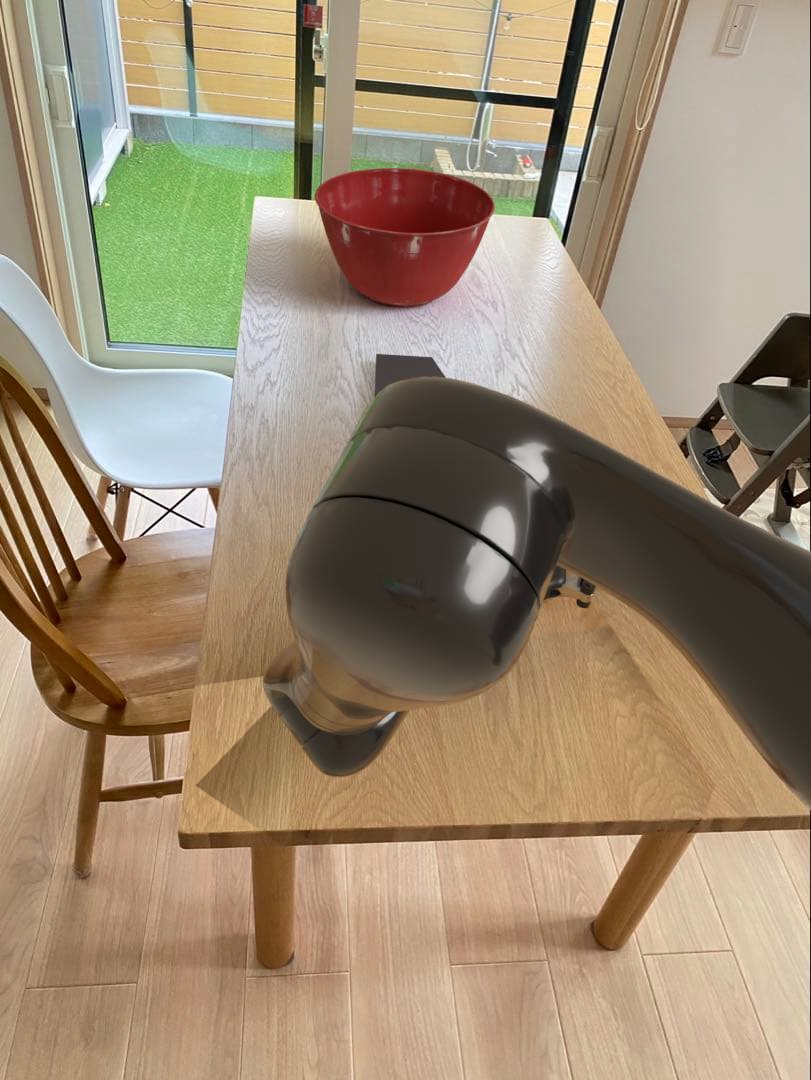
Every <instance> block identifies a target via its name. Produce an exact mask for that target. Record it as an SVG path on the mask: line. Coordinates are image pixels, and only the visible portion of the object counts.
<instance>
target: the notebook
mask: <svg viewBox="0 0 811 1080" xmlns="http://www.w3.org/2000/svg"><path fill="white" fill-rule="evenodd" d="M425 376H436V377H444V378H447V377H446V376H445V374H444V373H443V371H442V370H441V368H440V367H439V365H438V364H437V362H436V361H435V360H434V358H433V357H432V356H422V355H421V356H420V355H419V356H418V355H406V354H405V355H404V354H402V355H401V354H387V353H376V354H375V375H374V397H373V399H374V398H375V397H376V395H377V394H378V393H379V392H380V391H382V390H383V389H384V388H385V387H387V386H388V385H390V384H393V383H395V382H398V381H400V380H403V379H406V378H412V377H425Z"/></svg>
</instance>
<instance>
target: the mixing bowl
mask: <svg viewBox="0 0 811 1080" xmlns="http://www.w3.org/2000/svg"><path fill="white" fill-rule="evenodd" d="M314 200H315V203H316V204H317V206H318V210H319V214H320V218H321V221H322V225H323V228H324V232H325V235H326V238H327V241H328V245H329V247H330V248H331V249H330V250H331V252H332V254H333V256H334V258H335V260H336V263H337V265H338V267H339V269H340V271H341V272H342V274H343V276H344V277H345V279H346V280H347V281H348V283H349V284H350V285H351V286H352V287H353V289H355V290H356V291H358V292H359V293H360V294H362V295H363V296H365V297H367V298H368V297H369V298H368V299H370V298H371V299H373V300H375V301H377V302H376V303H378V302H379V303H378V304H381V303H382V304H381V305H385V306H389V307H397V308H398V307H399V308H412V307H420V306H424V305H426V304H429V303H432V302H433V301H435V300H438V299H440V298H441V297H443V296H445V295H446V294H447V293H449V292H450V291H451V290H452V289H453V288H454V287H455V286H456V285H457V283H458V282H459V281H460V279H461V278H462V277H463V275H464V273H465V272H466V271H467V269H468V267H469V265H470V264H471V262H472V261H473V258H474V257H475V254H476V252H477V251H478V249H479V246H480V245H481V242H482V240H483V238H484V235H485V232H486V230H487V228H488V224H489V223H490V220H491V218H492V216H493V215H494V214H495V213H494V212H495V209H496V205H495V204H496V203H495V201H494V199H493V197H492V196H491V195H490V194H489V193H488V192H487V191H486V190H484V189H483V188H482V187H481V186H478V185H477V184H475V183H473V182H470V181H469V180H466V179H463V178H460V177H457V176H455V175H450V174H446V173H442V172H435V171H432V170H426V169H425V170H424V169H416V168H402V167H380V168H369V169H368V168H367V169H359V170H354V171H349V172H345V173H342V174H338V175H335V176H333V177H331V178H329V179H327V180H325V181H323V182H322V183H320V185H319V186H318V187H317V189H316V191H315V193H314ZM371 299H370V300H371ZM373 300H372V301H373ZM375 301H374V302H375Z"/></svg>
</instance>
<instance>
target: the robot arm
mask: <svg viewBox="0 0 811 1080" xmlns="http://www.w3.org/2000/svg"><path fill="white" fill-rule="evenodd" d="M308 513H309V514H308V516H307V517H306V519H305V521H304V523H303V525H302V527H301V529H300V531H299V534H298V535H297V536H296V537H297V538H296V539H295V541H294V543H293V547H292V549H291V553H290V556H289V559H288V563H287V569H286V575H285V586H284V587H285V606H286V612H287V617H288V621H289V625H290V628H291V631H292V633H293V637H294V641H293V642H292V643H290V644H289V645H287V646H286V647H284V648H283V649H282V650H281V651H280V652H278V653H277V655H275V657H274V658H273V659H272V660H271V661H270V663H269V664H268V666H266V669H265V671H264V674H263V677H262V687H263V691H264V694H265V697H266V698H267V700H268V702H269V704H270V705H271V707H272V709H273V710H274V711H275V712H276V714H277V716H278V717H279V718H280V720H281V721H282V722H283V724H284V725H285V727H286V728H287V730H288V731H289V733H290V734H291V735H292V737H293V738H294V739H295V741H296V742H297V744H298V745H299V746H300V747H302V748H301V749H302V750H303V752H304V753H305V755H306V756H307V758H308V759H309V761H310V762H311V763H312V765H313V766H314V767H315V768H316V769H317V770H318V771H319V772H320V773H321V774H323V775H325V776H326V777H331V778H347V777H351V776H355V775H357V774H359V773H360V772H363V771H364V770H366V769H367V768H368V767H370V766H371V765H372V764H373V763H374V762H375V761H376V760H378V758H379V757H380V755H381V754H382V752H383V751H384V750H385V749H386V748H387V747H388V745H389V744H390V742H391V741H392V739H393V737H394V736H395V735H396V734H397V731H398V730H399V728H400V727H401V726H402V724H403V722H404V721H405V719H406V717H407V716H408V715H409V714H410V712H411V711H416V710H422V709H423V710H424V709H430V708H436V707H438V708H439V707H444V706H450V705H454V704H460V703H462V702H466V701H468V700H472V699H474V698H476V697H478V696H481V695H482V694H484V693H486V692H487V691H489V690H491V689H493V688H494V687H496V686H497V685H498V684H500V683H501V682H502V681H503V680H504V679H505V678H506V677H507V676H508V675H509V674H510V673H511V672H512V670H513V669H514V668H515V667H516V665H517V663H518V662H519V660H520V658H521V656H522V654H523V653H524V651H525V649H526V646H527V645H528V643H529V640H530V638H531V636H532V634H533V631H534V628H535V624H536V621H537V620H538V616H539V613H540V611H541V608H542V606H543V602H545V601H546V600H549V599H555V598H559V597H558V596H559V595H561V594H564V595H567V596H570V597H571V598H574V599H576V601H575V604H576V606H578V608H581V609H588V608H590V606H591V602H592V600H593V597H594V594H595V591H596V588H598V589H600V590H602V591H603V592H605V593H606V594H608V595H610V596H611V597H613V598H615V599H616V600H618V601H619V602H621V603H623V604H625V605H626V606H627V607H629V608H630V609H631V610H633V612H636V613H637V614H638V615H640V616H641V617H642V618H644V619H645V620H646V621H647V622H649V624H651V625H652V626H653V627H654V628H655V629H656V630H658V631H659V632H660V633H661V634H662V635H663V636H664V637H665V638H666V639H667V640H668V641H669V642H670V643H671V644H672V645H673V647H675V648H676V650H678V652H680V654H681V655H682V656H683V657H684V658H685V660H686V661H687V662H688V663H689V665H690V666H691V668H693V670H694V671H695V672H696V673H697V674H698V676H699V677H700V678H701V680H702V681H703V682H704V684H706V686H707V687H708V689H709V690H710V692H711V693H712V695H714V697H715V698H716V699H717V700H718V702H719V703H720V705H721V707H723V709H724V710H725V712H727V714H728V715H729V717H730V718H731V719H732V721H733V722H734V724H736V726H737V727H738V729H739V730H740V731H741V732H742V734H743V735H744V736H745V737H746V739H747V740H748V741H749V742H750V744H751V745H752V746H753V748H754V749H755V750H756V751H757V753H758V754H759V755H760V756H761V758H762V759H763V760H764V762H765V763H766V764H767V765H768V766H769V767H770V769H771V770H772V771H773V772H774V773H775V775H776V776H777V777H778V778H779V779H780V781H781V782H782V783H783V784H784V785H785V786H786V787H787V788H788V790H789V791H790V792H791V793H792V794H793V795H794V796H795V797H796V798H797V799H798V800H799V801H800V802H801V803H802V804H803V805H804V806H805V807H806V808H808V809H809V810H810V811H811V550H809V549H806V548H804V547H802V546H800V545H798V544H796V543H794V542H792V541H790V540H787V539H785V538H782V537H781V536H779V535H776V534H774V533H772V532H770V531H768V530H766V529H764V528H761V527H759V526H758V525H755V524H753V523H752V522H749V521H747V520H745V519H743V518H741V517H739V516H737V515H735V514H734V513H731V512H730V511H728V510H727V509H724V508H722V507H721V506H718V505H717V504H715V503H713V502H711V501H709V500H707V499H706V498H704V497H702V496H701V495H698V494H697V493H695V492H693V491H691V490H689V489H688V488H686V487H684V486H682V485H680V484H679V483H677V482H675V481H673V480H672V479H670V478H668V477H666V476H664V475H662V474H661V473H658V472H656V471H655V470H653V469H652V468H649V467H647V466H646V465H644V464H643V463H640V462H638V461H637V460H635V459H634V458H631V457H630V456H628V455H626V454H624V453H622V452H621V451H619V450H617V449H615V448H613V447H611V446H610V445H608V444H606V443H604V442H602V441H601V440H599V439H598V438H595V437H593V436H591V435H590V434H588V433H587V432H584V431H582V430H581V429H578V428H576V427H574V426H573V425H571V424H569V423H568V422H566V421H563V420H561V419H559V418H557V417H556V416H554V415H552V414H551V413H548V412H546V411H544V410H542V409H540V408H538V407H536V406H534V405H532V404H529V403H527V402H525V401H523V400H520V399H519V398H516V397H514V396H511V395H508V394H506V393H502V392H500V391H497V390H494V389H492V388H489V387H487V386H486V387H485V386H483V385H480V384H477V383H474V382H470V381H465V380H460V379H457V378H449V377H446V378H444V377H436V376H425V377H412V378H406V379H403V380H400V381H398V382H395V383H393V384H390V385H388V386H387V387H385V388H384V389H383V390H382V391H380V392H379V393H378V394H377V395H376V397H375V398H374V397H373V399H372V401H371V402H370V403H369V404H368V406H367V407H366V409H365V411H363V413H362V415H361V417H360V418H359V421H358V422H357V424H356V426H355V428H354V430H353V431H352V433H351V435H350V437H349V439H348V441H347V443H346V444H345V446H344V449H343V450H342V452H341V454H340V455H339V457H338V459H337V460H336V463H335V465H334V467H333V468H332V471H331V472H330V474H329V476H328V478H327V479H326V481H325V484H324V485H323V487H322V489H321V491H320V492H319V494H318V497H317V498H316V500H315V502H314V504H313V506H312V508H311V510H310V511H309V512H308ZM568 572H572V573H574V574H575V575H577V576H576V577H575V578H574V579H573V580H566V573H568Z"/></svg>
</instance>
